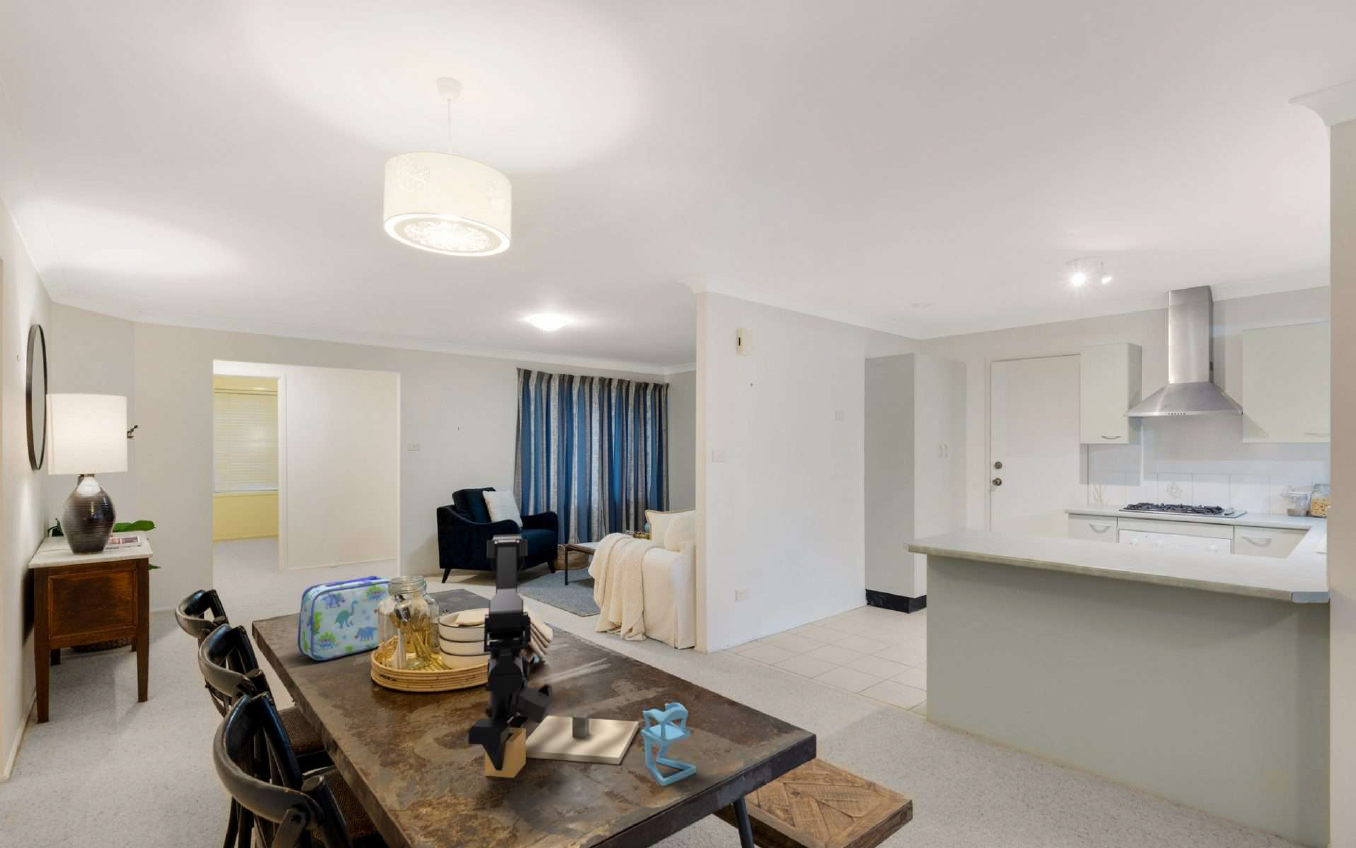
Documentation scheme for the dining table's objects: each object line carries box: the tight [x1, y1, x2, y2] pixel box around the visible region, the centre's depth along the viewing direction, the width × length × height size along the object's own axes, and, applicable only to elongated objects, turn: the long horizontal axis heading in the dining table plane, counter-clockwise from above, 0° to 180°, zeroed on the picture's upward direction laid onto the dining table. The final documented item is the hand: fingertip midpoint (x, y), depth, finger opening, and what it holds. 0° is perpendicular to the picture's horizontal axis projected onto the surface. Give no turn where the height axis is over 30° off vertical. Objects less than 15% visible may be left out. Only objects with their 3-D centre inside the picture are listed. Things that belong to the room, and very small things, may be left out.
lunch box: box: [297, 575, 392, 661], centre depth 190 cm, size 26×11×21 cm, turn 141°
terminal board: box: [526, 711, 639, 765], centre depth 130 cm, size 20×16×5 cm
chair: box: [640, 702, 697, 787], centre depth 118 cm, size 8×8×12 cm
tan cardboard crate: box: [484, 727, 527, 779], centre depth 119 cm, size 5×5×6 cm
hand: (505, 762), depth 119 cm, fingers closed on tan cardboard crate, 5 cm apart
